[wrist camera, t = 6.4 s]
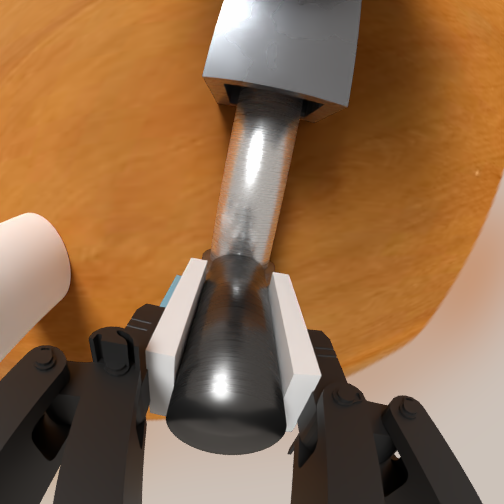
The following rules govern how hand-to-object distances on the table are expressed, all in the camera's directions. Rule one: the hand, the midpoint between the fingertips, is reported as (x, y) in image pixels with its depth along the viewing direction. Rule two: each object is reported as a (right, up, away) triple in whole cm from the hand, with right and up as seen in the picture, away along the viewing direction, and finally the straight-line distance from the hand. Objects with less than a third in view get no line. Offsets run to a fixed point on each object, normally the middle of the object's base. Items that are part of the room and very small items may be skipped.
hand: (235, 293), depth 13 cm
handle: (0, +5, +3) cm, 6 cm away
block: (+2, +15, +1) cm, 15 cm away
